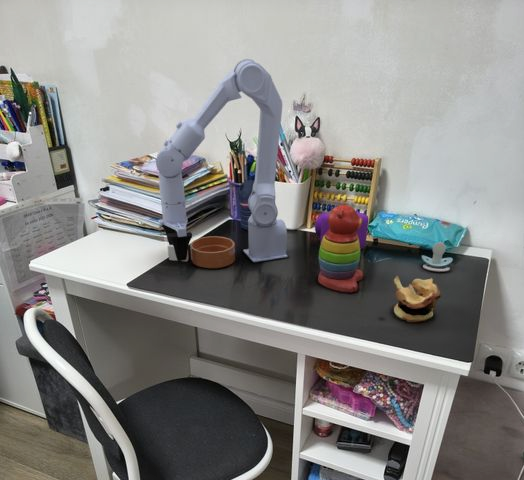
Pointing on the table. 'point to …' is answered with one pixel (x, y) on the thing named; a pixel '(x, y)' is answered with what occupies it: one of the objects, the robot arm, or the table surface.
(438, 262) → the pacifier
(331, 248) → the stacking bear
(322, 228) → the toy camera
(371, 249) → the table surface
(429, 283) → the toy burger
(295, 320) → the table surface
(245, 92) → the robot arm
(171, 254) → the eraser
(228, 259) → the bowl
